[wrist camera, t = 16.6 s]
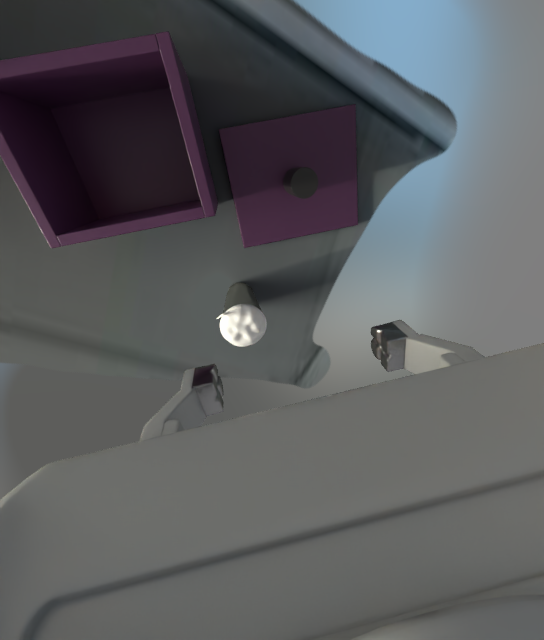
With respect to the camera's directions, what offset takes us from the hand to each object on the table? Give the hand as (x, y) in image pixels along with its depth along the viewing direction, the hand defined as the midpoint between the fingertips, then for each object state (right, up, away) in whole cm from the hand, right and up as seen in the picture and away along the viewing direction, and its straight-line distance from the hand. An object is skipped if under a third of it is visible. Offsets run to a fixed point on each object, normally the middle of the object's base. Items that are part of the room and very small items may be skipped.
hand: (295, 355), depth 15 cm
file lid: (+1, +16, +15) cm, 22 cm away
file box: (-14, +17, +13) cm, 25 cm away
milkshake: (-5, +5, +20) cm, 22 cm away
